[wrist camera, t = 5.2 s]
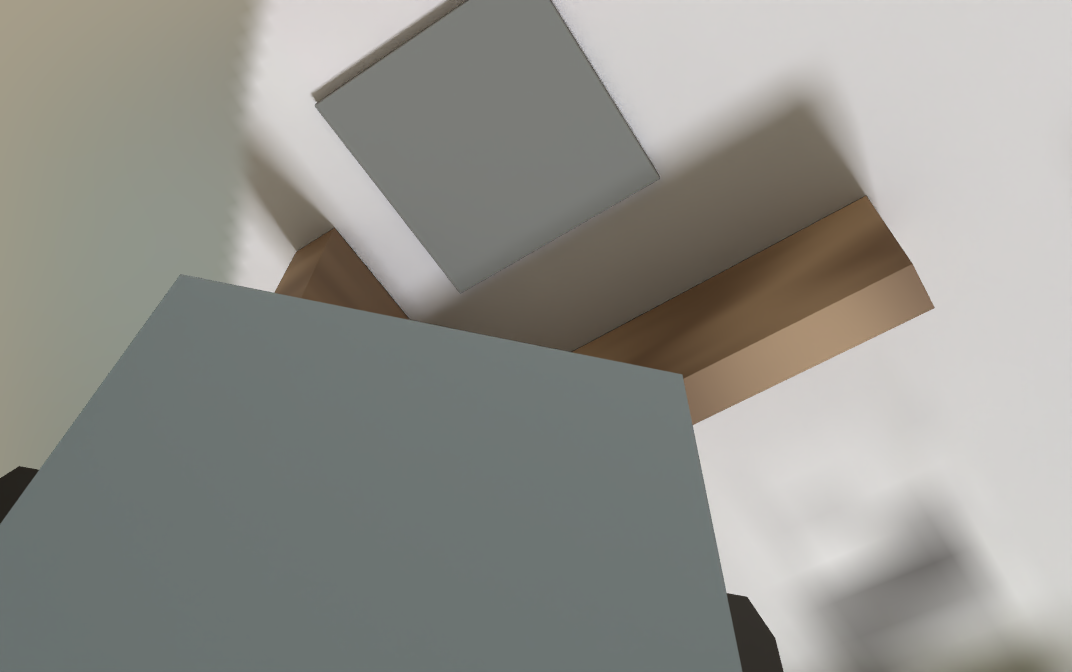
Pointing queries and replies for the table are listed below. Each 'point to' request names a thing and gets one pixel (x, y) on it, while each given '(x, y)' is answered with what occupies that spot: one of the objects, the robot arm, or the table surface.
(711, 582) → the slate-blue block
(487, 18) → the pad
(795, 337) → the walnut corner walls
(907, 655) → the table surface
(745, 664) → the robot arm
